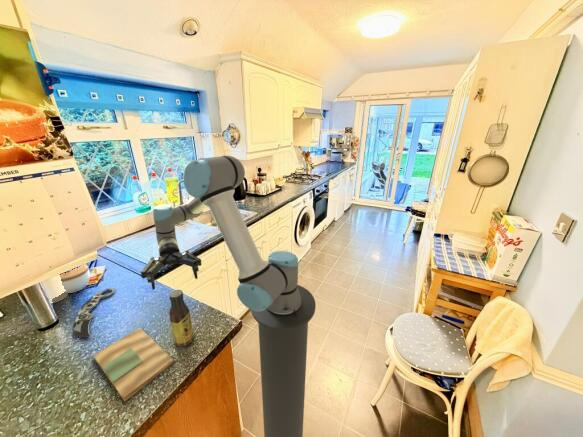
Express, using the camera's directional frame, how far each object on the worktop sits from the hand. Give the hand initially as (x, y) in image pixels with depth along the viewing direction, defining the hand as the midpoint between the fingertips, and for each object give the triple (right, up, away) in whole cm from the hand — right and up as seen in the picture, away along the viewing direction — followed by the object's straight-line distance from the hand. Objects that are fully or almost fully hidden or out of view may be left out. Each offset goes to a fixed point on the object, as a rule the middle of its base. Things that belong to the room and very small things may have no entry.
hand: (175, 280), depth 82 cm
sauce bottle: (+3, -21, +1) cm, 21 cm away
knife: (-40, -16, +12) cm, 45 cm away
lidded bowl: (-59, -10, +27) cm, 66 cm away
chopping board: (-10, -24, -7) cm, 27 cm away
